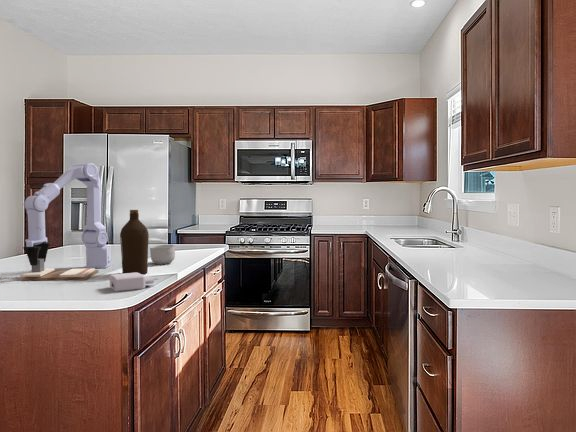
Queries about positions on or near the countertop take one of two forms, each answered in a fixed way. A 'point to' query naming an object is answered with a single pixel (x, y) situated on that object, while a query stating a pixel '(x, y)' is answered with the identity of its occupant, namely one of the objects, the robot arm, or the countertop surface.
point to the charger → (129, 281)
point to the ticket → (77, 272)
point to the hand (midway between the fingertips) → (37, 263)
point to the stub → (38, 270)
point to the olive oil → (134, 245)
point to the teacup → (162, 254)
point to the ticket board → (55, 276)
